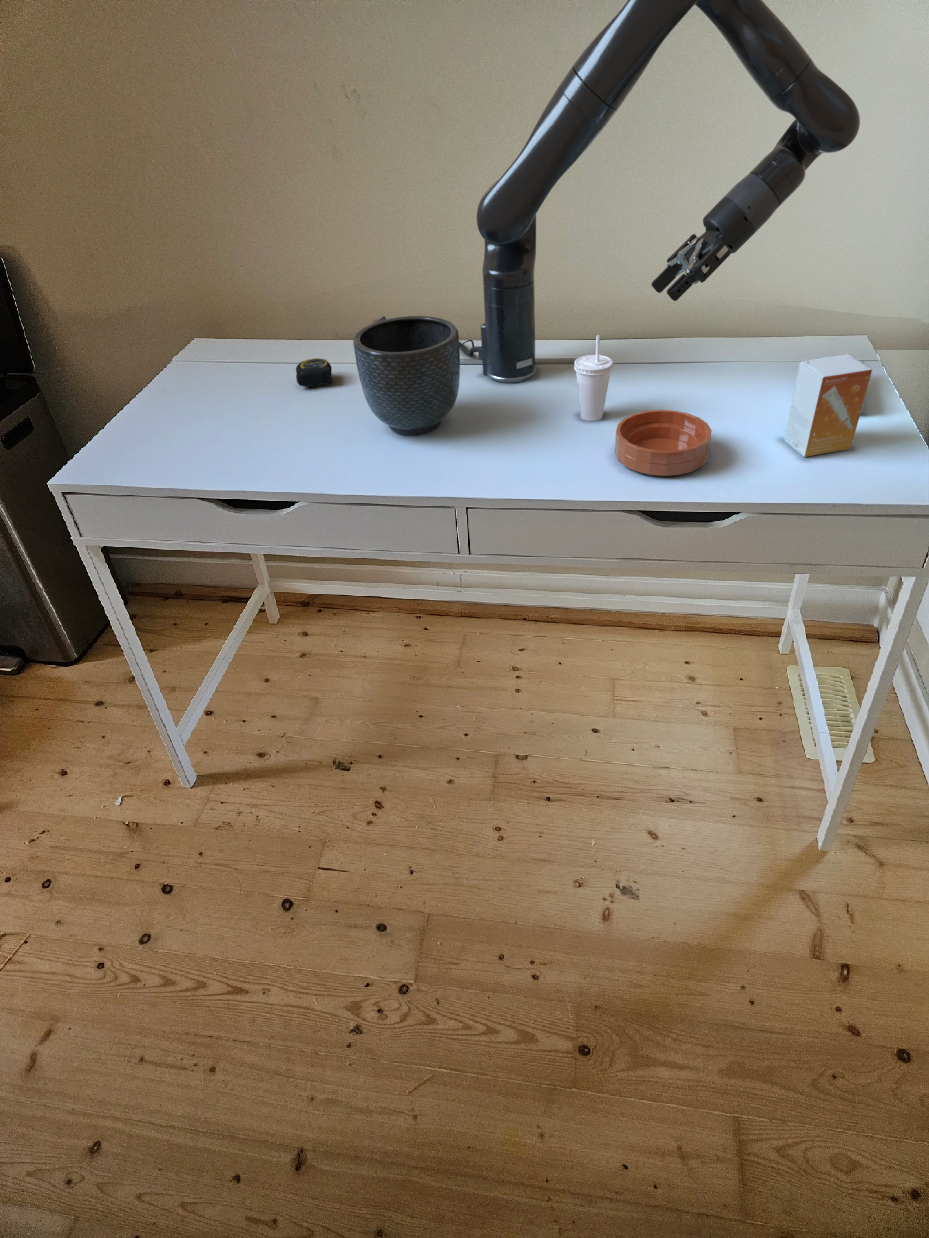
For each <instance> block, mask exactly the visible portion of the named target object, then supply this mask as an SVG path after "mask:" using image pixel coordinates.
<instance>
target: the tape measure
mask: <svg viewBox="0 0 929 1238" xmlns="http://www.w3.org/2000/svg"><path fill="white" fill-rule="evenodd" d="M332 371H333V370H332V365H331V363H330V362H329V360H326V359H325V358H308V359H305V360H302V361H301V362H299V363H297V365H296V366H295V374H296V375H295V379H296V383H297V385H298V386H300V387H311V386H312V387H317V386H320V385H326V384H331V383H333V375H332V373H333V372H332Z"/></svg>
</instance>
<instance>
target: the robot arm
mask: <svg viewBox="0 0 929 1238" xmlns="http://www.w3.org/2000/svg"><path fill="white" fill-rule="evenodd" d="M694 6H696V7H697V8H698V9H699V10H700V11H701V12H702V13H703V14H704V15H705V16H706V17H707V18H708V19H709V21H711V23H712V24H713V25H714V26H715V28H716V29H717V30H718V31H719V32H720V34H721V35H722V37H723V38H724V40H725V41H726V42H727V44H728V45H729V46H730V48H731V49H732V51H733V53H734V54H735V55H736V57H737V59H738V60H739V62H740V64H741V65H742V66H743V68H744V69H745V71H746V72H747V73H748V75H749V76H750V77H751V79H752V80H753V81H754V82H755V84H756V85H757V86H758V88H759V89H760V90H761V91H762V93H763V94H764V96H766V98H767V99H768V100H769V101H770V103H772V105H773V106H774V107H775V108H776V109H778V110H779V111H781V112H784V113H788V114H789V115H791V116H792V117H793V118H794V120H793V121H792V122H791V124H790V125H789V126H788V128H786V130H785V132H784V133H783V134H782V136H781V137H780V138H779V140H778V141H777V142H776V144H775V146H774V148H772V150H771V151H770V152H769V153H768V154H766V156H764V157H763V159H761V160H760V161H759V162H758V164H757V165H755V166H754V167H753V168H752V170H751V171H750V172H749V173H748V174H747V175H745V176H744V177H743V178H742V179H740V180H739V181H738V182H736V184H735V185H734V186H732V188H731V189H730V190H729V191H728V192H727V193H726V194H725V195H724V196H723V197H722V198H721V199H720V200H719V201H718V202H717V203H716V204H715V205H714V206H713V207H712V208H711V209H710V210H709V212H707V213H706V214H705V216H704V217H703V218H702V224H703V226H704V228H705V232H704V233H702V234H701V235H700V236H697V234H696V233H693V234H691V235H690V236H689V237H688V238H687V239H685V241H684V242H683V243H682V244H681V245H680V246H679V247H678V248H677V249H676V250H675V251H674V252H673V253H672V254H671V255H670V256H669V257H668V258H667V259H666V263H667V264H666V267H665V268H664V269H663V271H661V272H660V273H659V274H658V275H657V277H656V278H655V279H654V280H652V281H651V287H652V288H653V289H654V290H655V292H656V293H659V294H661V293H663V291H664V290H665V289H666V294H667V296H668V297H669V298H670V299H671V300H672V301H673V302H676V301H678V300H679V299H680V298H681V297H682V296H683V295H684V294H685V293H686V292H687V291H688V290H689V289H690V288H691V287H692V286H693V284H694V285H696V284H698V283H699V282H700V283H701V284H702V283H704V282H706V281H707V279H709V277H710V276H711V275H712V274H713V273H714V272H715V271H716V270H717V269H719V267H720V266H721V265H722V264H723V263H724V262H725V261H726V260H727V259H728V258H729V257H730V256H731V254H735V253H736V252H737V251H739V250H740V248H742V247H743V246H744V245H745V244H746V243H747V242H748V241H749V240H750V239H751V238H752V237H753V236H754V235H755V234H756V233H757V232H758V231H759V230H760V229H761V228H762V227H763V226H764V225H765V224H766V223H767V221H769V220H770V218H771V217H772V216H773V215H774V213H775V212H776V211H777V210H778V209H779V208H780V206H782V205H783V204H784V203H785V202H786V200H787V199H789V197H790V196H791V195H792V194H794V193H795V192H796V190H798V189H799V187H800V186H801V185H802V183H804V180H805V178H806V171H807V170H808V169H809V167H810V166H812V164H813V163H814V162H815V160H817V159H818V158H819V157H820V156H821V155H822V154H832V153H837V152H841V151H842V150H844V149H846V148H847V147H849V146H850V145H851V144H852V143H853V141H854V140H856V137H857V135H858V133H859V131H860V126H861V116H860V112H859V109H858V107H857V105H856V103H855V101H854V100H853V99H852V98H851V96H850V95H849V94H848V93H847V92H846V91H845V90H844V89H843V88H842V87H841V86H839V84H837V83H836V82H835V81H834V80H833V79H831V77H829V76H828V75H827V74H825V73H824V72H823V71H822V70H821V69H819V68H818V67H817V65H816V64H815V62H814V60H813V59H812V58H811V56H810V55H809V54H808V52H807V51H806V50H805V48H804V47H803V46H802V44H801V42H799V40H798V39H797V38H796V37H795V35H794V34H793V33H792V32H791V31H790V30H789V28H788V27H787V26H786V25H785V24H784V23H783V21H782V20H781V19H780V18H779V17H778V16H777V15H776V14H775V13H774V11H772V9H771V8H770V7H769V6H768V5H767V4H766V3H765V2H764V0H627V1H626V2H625V4H623V6H622V7H621V9H620V10H619V11H618V13H617V14H615V16H614V17H613V18H612V19H611V20H610V21H609V22H608V23H607V24H606V26H605V27H604V28H603V29H602V30H601V31H600V32H599V33H598V34H597V35H596V36H595V37H594V39H592V41H591V42H590V43H589V44H588V45H587V47H586V48H585V49H584V50H583V51H582V53H581V54H580V55H579V57H578V58H577V59H576V60H575V62H574V63H573V65H572V66H571V67H570V69H569V70H568V72H567V73H566V74H565V76H564V78H563V79H562V81H561V82H560V83H559V85H558V86H557V88H556V90H554V93H553V94H552V96H551V98H550V99H549V101H548V103H547V104H546V106H545V108H544V109H543V111H542V113H541V114H540V116H539V118H538V120H537V122H536V124H535V125H534V127H533V129H532V131H531V133H530V135H529V137H528V139H527V141H526V142H525V144H524V146H523V148H522V149H521V151H520V152H519V154H518V155H517V156H516V158H515V159H514V161H512V163H511V164H510V165H509V166H508V168H507V169H506V170H505V171H504V173H503V174H502V175H501V176H500V178H498V180H496V181H495V182H493V183H492V184H491V185H490V186H489V187H488V188H487V189H486V191H485V192H484V194H483V195H482V196H481V198H480V200H479V203H478V205H477V209H476V225H477V230H478V233H479V234H480V237H482V239H483V240H484V253H483V262H482V268H481V269H482V272H481V273H482V286H483V287H482V289H483V305H484V306H483V308H484V309H483V310H484V311H483V312H484V322H483V323H482V324H481V325H480V341H481V343H480V344H481V345H480V346H474V347H473V348H472V347H470V349H467V348H466V346H465V345H464V344H462V342H460V341H459V345H460V344H462V345H461V346H459V350H460V351H461V352H462V353H463V354H464V355H466V357H473V356H474V354H475V353H478V360H481V361H482V362H481V363H482V375H484V376H487V377H488V378H489V379H490V380H493V381H496V382H500V383H517V382H523V381H527V380H529V379H532V378H533V377H534V376H535V375H536V373H537V366H536V297H535V296H536V295H535V292H536V290H535V288H536V287H535V285H536V284H535V271H536V270H535V269H536V259H537V213H538V211H539V210H540V208H541V207H542V205H543V204H544V202H545V200H546V199H547V197H548V196H549V194H550V193H551V192H552V190H553V189H554V187H555V185H557V183H558V181H559V180H561V178H562V177H563V176H564V175H565V174H566V172H568V170H570V168H571V167H573V165H574V164H575V163H576V162H577V161H578V160H579V159H580V157H581V156H583V154H584V153H585V152H586V151H587V150H588V148H590V146H591V145H592V144H593V142H594V141H595V140H596V139H597V137H598V136H599V135H600V134H601V133H602V132H603V130H604V129H605V128H606V126H607V125H608V124H609V122H610V121H611V120H612V118H613V117H614V116H615V114H616V113H617V112H618V110H619V109H620V107H621V106H623V103H624V102H625V100H626V99H627V97H628V96H629V95H630V93H631V92H632V90H633V89H634V87H635V86H636V84H637V83H638V82H639V80H640V78H641V76H642V75H643V74H644V72H645V70H646V69H647V67H648V65H649V64H650V62H651V61H652V59H653V57H654V56H655V55H656V53H657V51H658V50H659V48H660V47H661V45H662V44H663V43H664V41H665V40H666V38H667V37H669V35H670V34H671V32H672V31H673V30H674V29H675V28H676V27H677V25H678V24H679V23H680V22H681V21H682V20H683V18H684V17H685V16H686V15H688V13H689V12H690V10H692V8H693V7H694ZM678 276H679V277H678ZM677 277H678V278H677ZM676 278H677V279H676ZM675 279H676V280H675ZM674 280H675V281H674ZM673 281H674V282H673ZM672 282H673V283H672ZM671 283H672V284H671ZM670 284H671V285H670ZM669 285H670V286H669ZM668 286H669V287H668ZM667 287H668V288H667ZM382 316H383V317H382ZM382 316H381V317H382V318H381V317H380V318H381V319H380V318H379V320H378V322H379V321H382V320H386V319H387V318H386V316H384V315H382Z"/></svg>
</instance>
